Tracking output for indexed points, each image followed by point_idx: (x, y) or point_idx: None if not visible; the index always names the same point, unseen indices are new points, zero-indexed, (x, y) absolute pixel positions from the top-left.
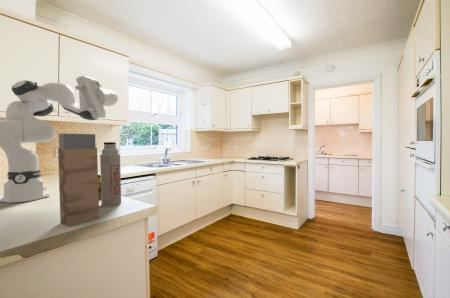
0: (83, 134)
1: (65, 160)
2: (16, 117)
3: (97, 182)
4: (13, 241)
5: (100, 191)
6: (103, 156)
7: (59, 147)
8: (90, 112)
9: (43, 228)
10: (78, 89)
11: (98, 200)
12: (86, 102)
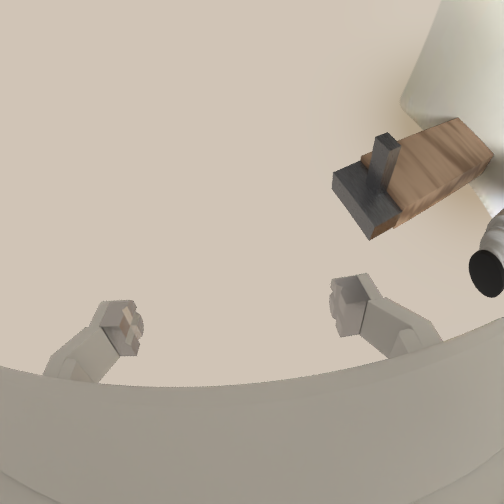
0: (354, 218)
1: None
2: None
3: (445, 196)
4: (408, 96)
5: None
6: (488, 225)
7: (358, 162)
8: (459, 336)
9: (439, 104)
10: (129, 323)
11: (465, 184)
12: (296, 380)
